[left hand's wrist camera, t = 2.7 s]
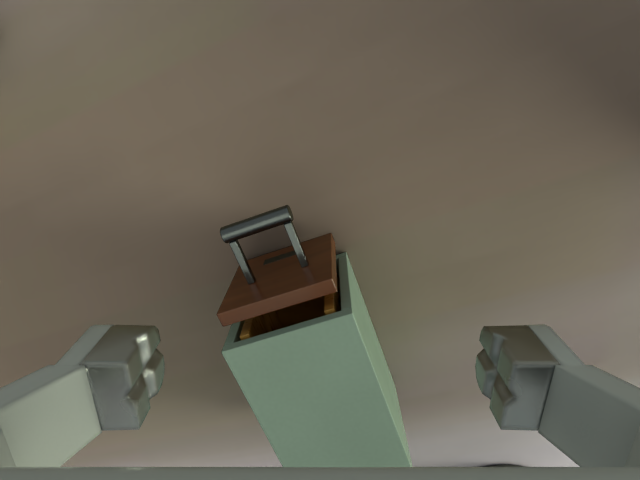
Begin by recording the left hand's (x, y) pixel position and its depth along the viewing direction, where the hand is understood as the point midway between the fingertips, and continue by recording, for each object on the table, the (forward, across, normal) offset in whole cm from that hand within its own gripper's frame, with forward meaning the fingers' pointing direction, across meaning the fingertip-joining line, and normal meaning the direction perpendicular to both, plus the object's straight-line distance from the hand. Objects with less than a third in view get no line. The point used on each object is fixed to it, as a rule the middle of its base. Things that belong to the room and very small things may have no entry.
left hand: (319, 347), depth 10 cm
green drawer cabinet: (+28, 0, +20) cm, 34 cm away
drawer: (+27, +1, +14) cm, 31 cm away
